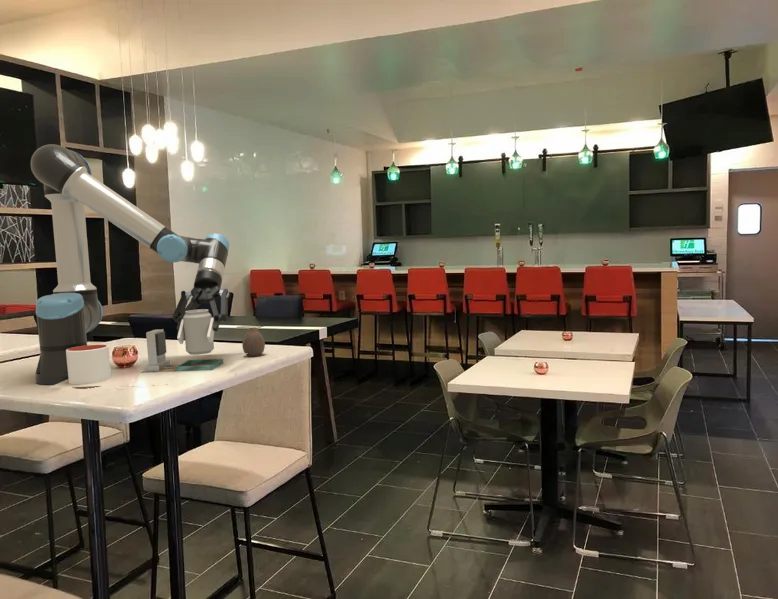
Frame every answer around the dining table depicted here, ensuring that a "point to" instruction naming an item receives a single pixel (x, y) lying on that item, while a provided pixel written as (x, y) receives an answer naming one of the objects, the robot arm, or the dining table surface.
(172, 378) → the dining table surface
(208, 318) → the can
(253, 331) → the vase
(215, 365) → the teal rectangular pan
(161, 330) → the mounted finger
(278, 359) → the dining table surface
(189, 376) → the dining table surface
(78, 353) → the cup
